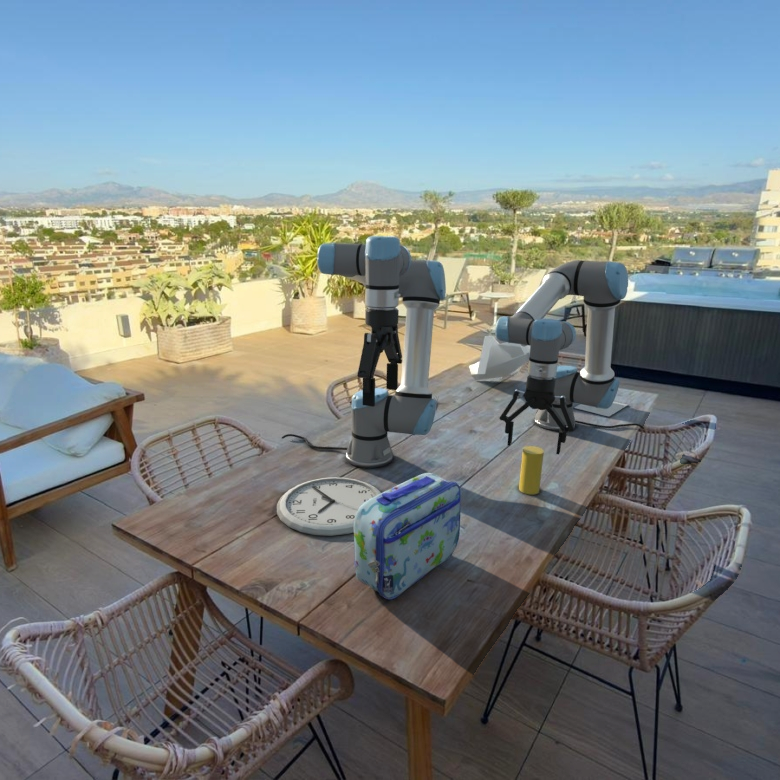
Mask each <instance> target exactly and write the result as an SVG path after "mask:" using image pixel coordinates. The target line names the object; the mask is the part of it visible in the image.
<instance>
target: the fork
mask: <svg viewBox="0 0 780 780" xmlns="http://www.w3.org/2000/svg"><path fill="white" fill-rule="evenodd" d="M432 399H435V400H436V401H437V402H438V401H439V396H435V395H432Z"/></svg>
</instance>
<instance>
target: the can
mask: <svg viewBox="0 0 780 780" xmlns="http://www.w3.org/2000/svg"><path fill="white" fill-rule="evenodd" d="M544 453H545V451H544V449H543V448H541V447H539V446H534V445H527V446H523V448H522V453H521V465H520V472H519V473H520V475H519V483H518V490H519V491H520V492H521V493H523V494H525V495H531V496H533V495H537V494H539V493H540V489H541V480H542V479H541V478H542V471H543V464H544V463H543V461H544Z"/></svg>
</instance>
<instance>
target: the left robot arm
mask: <svg viewBox="0 0 780 780" xmlns="http://www.w3.org/2000/svg"><path fill="white" fill-rule="evenodd" d="M316 264H317V269H318V270H319V272H320V273H321V274H323V275H330V276H342V277H344V278H347V279H350V280H352V281H355V282H357V283H360V284H362V285H363V287H365V290H364V291H365V292H364V294H365V296H364V298H365V299H364V305H365V307H366V308H365V312H364V313H365V314H364V315H365V316H364V317H365V320H364V321H365V324H366V326H369V327H370V332H364V335H363V345H362V350H361V355H360V360H359V364H358V370H357V377H358V378H360V379H362V389H360V390H358V391H357V392H355V393H354V394H353V395H352V397H351V406H350V410H351V411H350V412H351V413H350V414H351V436H350V439H349V442H348V443H349V444H348V446H347V447H341V446H340V447H339V446H338V447H337V446H317V445H313V444H310V442H309V440H308V439H307V437H304V436H302V435H298V434H294V433H288V434H284V435H283V436H281V439H282V440H283V439H285V438H287V437H294V438H298V439H301V440H303V441H305V443H306V445H307V446H308V447H310V448H313V449H316V450H339V451H346V453H345V458H346V459H345V460H346V461H347V462H348V464H350V465H352V466H355V467H358V468H364V469H375V468H376V469H377V468H381V467H384V466H387V465H389V464H390V463H392V461H393V457H394V455H393V449H392V447H391V443H390V440H389V436H388V433H397V434H404V435H405V434H407V435H412V436H426V435H429V433H430V432H431V430H432V426H433V424H434V420H435V417H436V411H437V403H438V401H437V399H436V398H435V399H436V400H435V399H434V398H433V392H432V391H431V390H430V388H429V379H430V378H429V377H430V367H431V366H430V365H431V354H432V344H433V343H432V342H433V329H434V327H433V326H434V319H435V318H434V317H435V311H436V310H437V309H438V308H440V303H441V301H444V300H445V299H446V292H447V287H446V285H447V284H446V274H445V273H446V272H445V268H444V265H443V264H442V263H441V262H440V261H436V260H429V259H412V255H411V252H410V251H409V250H408V248H407V247H405V246H404V245H402V244H401V241H400V238H399V237H397V236H387V235H386V236H385V235H384V236H381V235H380V236H379V235H378V236H376V235H374V236H373V235H371V236H368V237H367V238H366V240H365V243H344V242H323V243H322V244H320V246H319V247H318V249H317V255H316ZM401 298H402V301H401V303H402V305H403V306H404V307H405V309H406V314H405V325H404V338H403V351H402V348H401V343H400V337H399V314H400V313H399V309H398V306H399V299H401ZM383 352H384V353H385V357H386V359H387V363H386V382H385V383H386V388H383V387H376V377H374V376H375V373H376V369H377V366H378V362H379V359H380V356H381V353H383ZM399 364H400V365H401V377H400V385H399V384H398V383H399V381H398V380H399ZM389 390H391V391H394V392H395V393H394V395H391V394H390V393H389Z"/></svg>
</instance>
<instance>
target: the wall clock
mask: <svg viewBox="0 0 780 780" xmlns="http://www.w3.org/2000/svg"><path fill="white" fill-rule="evenodd" d="M381 493H383V492H382V491H381V490H380V489H379V488H377V487H376V486H374V485H372V484H371V483H369V482H365V481H362V480H359V479H355V478H349V477H338V476H337V477H335V476H333V477H332V476H331V477H322V478H317V479H312V480H307V481H305V482H302V483H299V484H297V485H295V486H293V487H292V488H290V489H288V490H287V491H286V492H285V493H284V494H283V495H281V496H280V498H279V499H278V502H277V503H276V515H277V517H278V518H279V520H280V521H281V522H282V523H283V524H285V525H286V526H287V527H288V528H290V529H293V530H295V531H297V532H299V533H303V534H308V535H312V536H327V537H328V536H329V537H331V536H332V537H333V536H342V535H350V534H352V533H353V534H354V519H355V515H356V513H357V511H358V509H359V508H360V506H361V505H362V504H363V503H364V502H365V501H367V500H369V499H371V498H373V497H375V496H377V495H379V494H381Z"/></svg>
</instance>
